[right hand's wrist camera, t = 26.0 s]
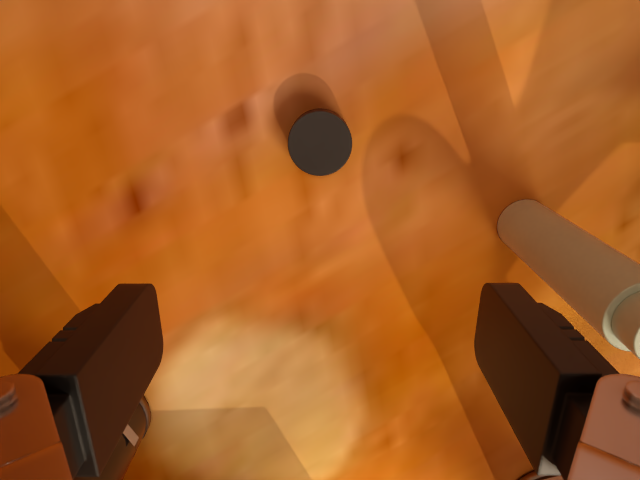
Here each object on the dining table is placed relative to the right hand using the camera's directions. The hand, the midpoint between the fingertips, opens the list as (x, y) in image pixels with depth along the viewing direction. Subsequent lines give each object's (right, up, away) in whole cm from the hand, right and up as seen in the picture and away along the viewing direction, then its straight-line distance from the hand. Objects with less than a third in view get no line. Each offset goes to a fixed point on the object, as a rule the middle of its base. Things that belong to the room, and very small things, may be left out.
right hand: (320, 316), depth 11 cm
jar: (+18, +3, +30) cm, 35 cm away
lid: (0, +10, +25) cm, 27 cm away
